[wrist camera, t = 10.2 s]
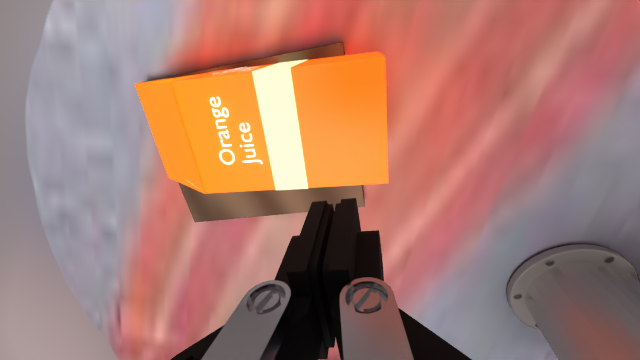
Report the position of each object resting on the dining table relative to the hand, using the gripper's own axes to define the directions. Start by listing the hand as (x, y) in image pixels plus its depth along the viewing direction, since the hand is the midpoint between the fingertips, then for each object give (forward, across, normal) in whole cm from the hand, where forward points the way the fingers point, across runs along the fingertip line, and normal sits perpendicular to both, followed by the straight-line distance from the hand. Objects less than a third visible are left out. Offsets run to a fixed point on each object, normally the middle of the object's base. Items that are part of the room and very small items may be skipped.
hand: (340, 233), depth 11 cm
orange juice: (+14, -2, -1) cm, 15 cm away
